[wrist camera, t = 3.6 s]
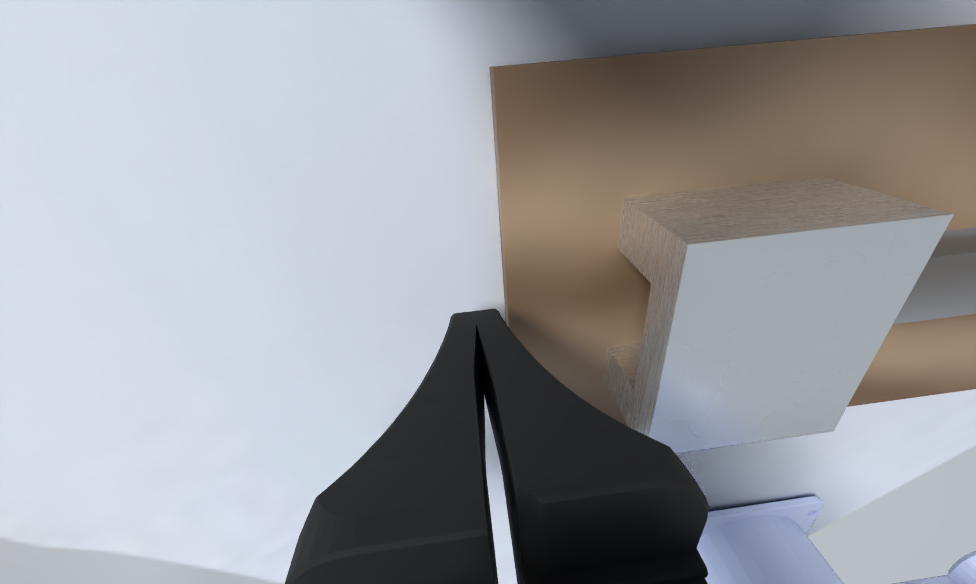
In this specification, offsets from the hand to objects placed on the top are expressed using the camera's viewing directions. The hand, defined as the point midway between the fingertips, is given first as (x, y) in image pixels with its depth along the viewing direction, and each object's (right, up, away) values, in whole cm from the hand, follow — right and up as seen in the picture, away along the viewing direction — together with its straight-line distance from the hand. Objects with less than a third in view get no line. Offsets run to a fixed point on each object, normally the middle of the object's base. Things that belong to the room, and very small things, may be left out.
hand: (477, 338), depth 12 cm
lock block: (+7, +1, +1) cm, 8 cm away
